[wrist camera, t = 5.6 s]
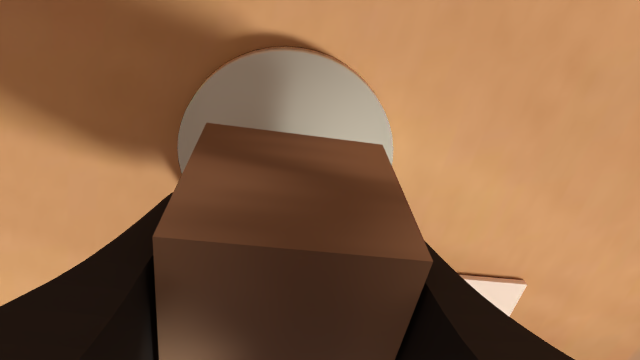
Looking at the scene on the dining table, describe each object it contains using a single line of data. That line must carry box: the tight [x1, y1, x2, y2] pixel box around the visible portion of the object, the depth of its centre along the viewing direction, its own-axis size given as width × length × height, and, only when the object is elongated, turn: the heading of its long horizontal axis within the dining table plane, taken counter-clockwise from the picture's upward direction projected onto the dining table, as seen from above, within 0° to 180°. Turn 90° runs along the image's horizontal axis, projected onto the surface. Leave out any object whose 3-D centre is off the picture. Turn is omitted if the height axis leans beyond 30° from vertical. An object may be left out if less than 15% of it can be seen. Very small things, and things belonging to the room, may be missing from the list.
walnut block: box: [153, 123, 433, 360], centre depth 11 cm, size 5×5×5 cm
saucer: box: [177, 46, 393, 173], centre depth 16 cm, size 8×8×1 cm
